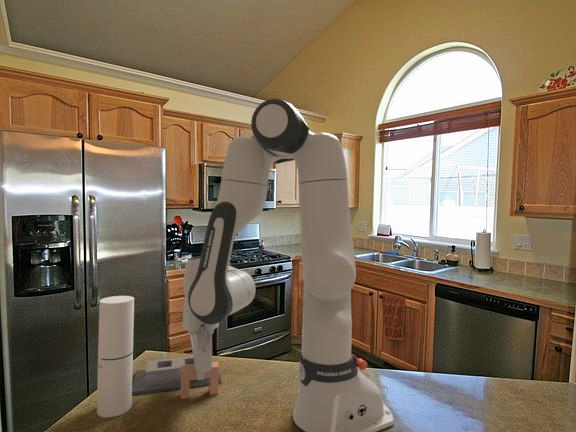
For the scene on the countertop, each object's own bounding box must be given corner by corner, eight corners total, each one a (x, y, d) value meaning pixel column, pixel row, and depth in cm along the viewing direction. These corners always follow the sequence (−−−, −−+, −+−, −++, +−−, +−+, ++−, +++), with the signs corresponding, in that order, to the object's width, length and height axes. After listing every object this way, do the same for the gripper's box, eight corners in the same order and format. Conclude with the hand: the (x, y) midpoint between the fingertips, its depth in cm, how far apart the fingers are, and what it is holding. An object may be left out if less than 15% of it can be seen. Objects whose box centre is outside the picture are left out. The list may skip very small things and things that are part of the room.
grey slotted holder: (216, 364, 103) (216, 350, 103) (221, 383, 91) (221, 367, 91) (136, 373, 96) (136, 358, 96) (131, 395, 84) (131, 377, 84)
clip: (216, 388, 88) (217, 361, 88) (218, 394, 86) (219, 366, 85) (180, 393, 85) (181, 365, 85) (180, 399, 83) (181, 371, 83)
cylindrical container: (117, 419, 74) (120, 304, 74) (89, 414, 76) (91, 302, 76) (138, 402, 81) (140, 297, 81) (111, 398, 83) (114, 294, 83)
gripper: (219, 331, 77) (217, 393, 77) (209, 307, 96) (208, 357, 96) (190, 334, 75) (188, 397, 75) (186, 309, 94) (185, 359, 94)
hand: (199, 374), depth 85 cm, fingers closed on clip, 3 cm apart
